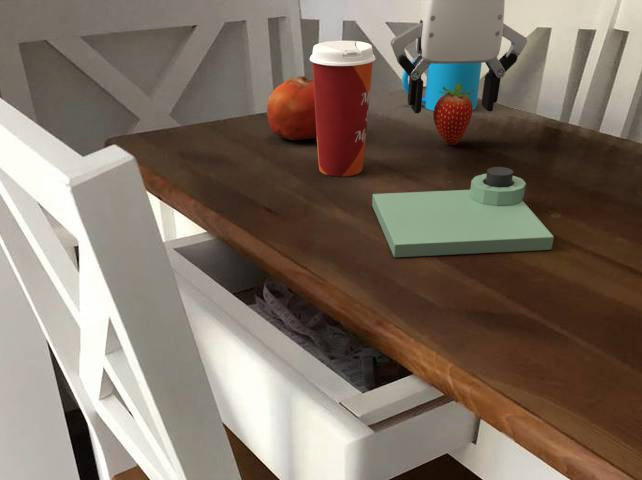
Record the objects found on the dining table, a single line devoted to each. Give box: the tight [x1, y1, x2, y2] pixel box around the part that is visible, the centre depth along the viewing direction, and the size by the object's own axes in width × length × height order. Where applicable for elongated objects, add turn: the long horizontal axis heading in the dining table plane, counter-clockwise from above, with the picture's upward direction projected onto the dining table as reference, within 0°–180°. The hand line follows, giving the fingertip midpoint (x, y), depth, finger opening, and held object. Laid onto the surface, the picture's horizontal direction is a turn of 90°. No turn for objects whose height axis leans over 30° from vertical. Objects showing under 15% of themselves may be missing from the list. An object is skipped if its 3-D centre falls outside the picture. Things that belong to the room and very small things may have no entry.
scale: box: [371, 173, 555, 258], centre depth 78 cm, size 16×14×3 cm
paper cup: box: [309, 40, 377, 178], centre depth 89 cm, size 8×8×14 cm
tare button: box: [485, 166, 514, 188], centre depth 80 cm, size 3×3×2 cm
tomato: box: [266, 75, 317, 141], centre depth 102 cm, size 9×9×8 cm
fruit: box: [432, 82, 474, 146], centre depth 98 cm, size 5×5×8 cm
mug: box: [401, 57, 483, 112], centre depth 114 cm, size 12×8×8 cm
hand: (451, 109), depth 98 cm, fingers open, 9 cm apart
